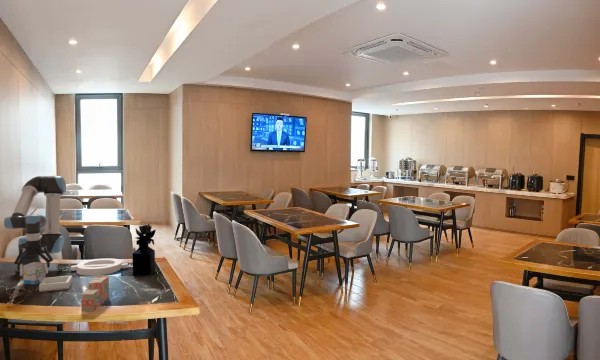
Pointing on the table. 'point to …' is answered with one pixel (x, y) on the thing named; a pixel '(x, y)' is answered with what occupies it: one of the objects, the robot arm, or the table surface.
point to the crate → (55, 283)
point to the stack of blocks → (95, 293)
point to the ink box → (34, 273)
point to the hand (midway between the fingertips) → (34, 274)
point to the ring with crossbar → (99, 266)
